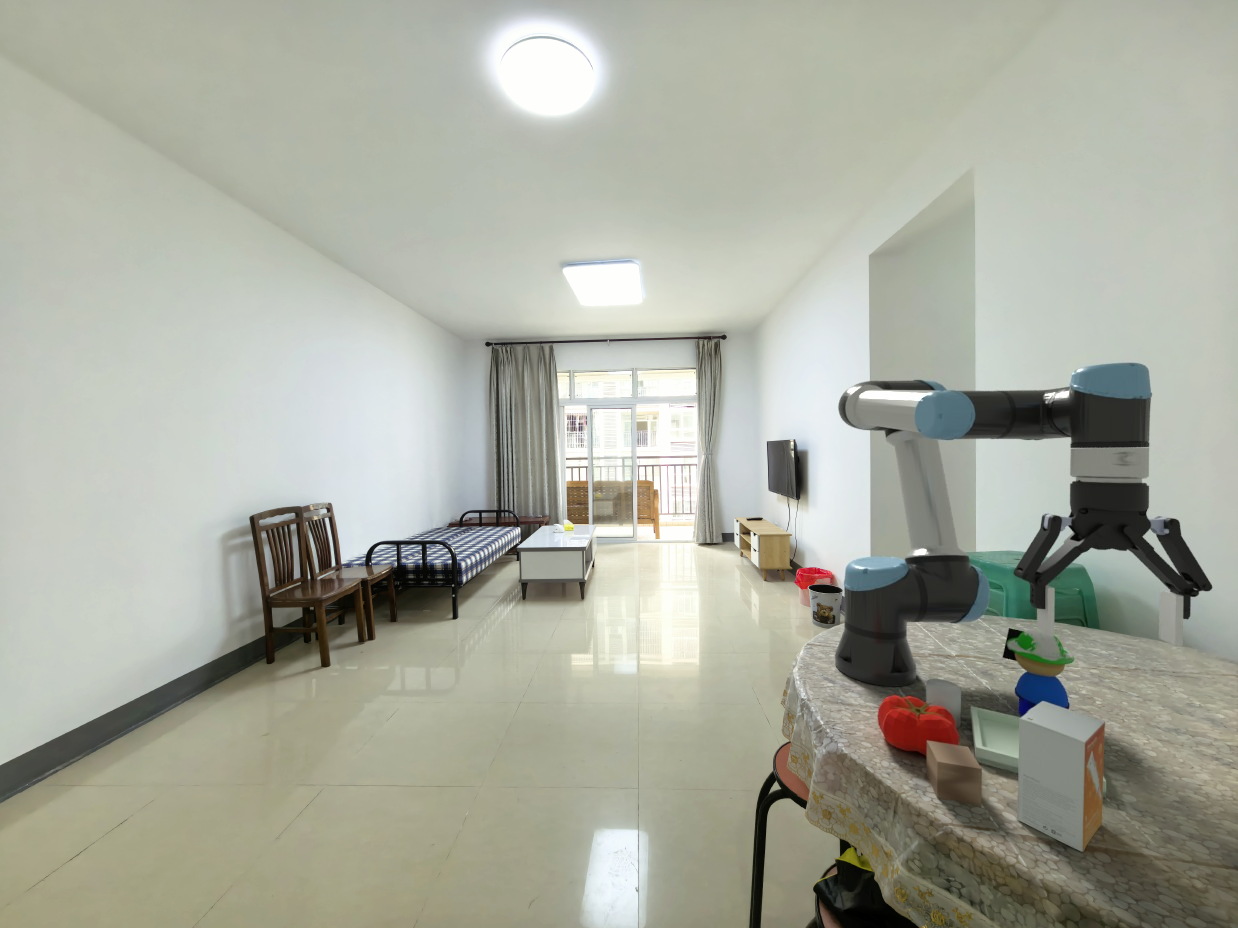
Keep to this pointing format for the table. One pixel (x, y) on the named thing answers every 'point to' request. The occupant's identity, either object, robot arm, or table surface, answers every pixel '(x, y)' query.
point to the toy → (1038, 667)
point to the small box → (1061, 773)
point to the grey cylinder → (945, 697)
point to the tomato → (915, 723)
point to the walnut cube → (954, 773)
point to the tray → (998, 740)
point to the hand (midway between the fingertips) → (1106, 637)
